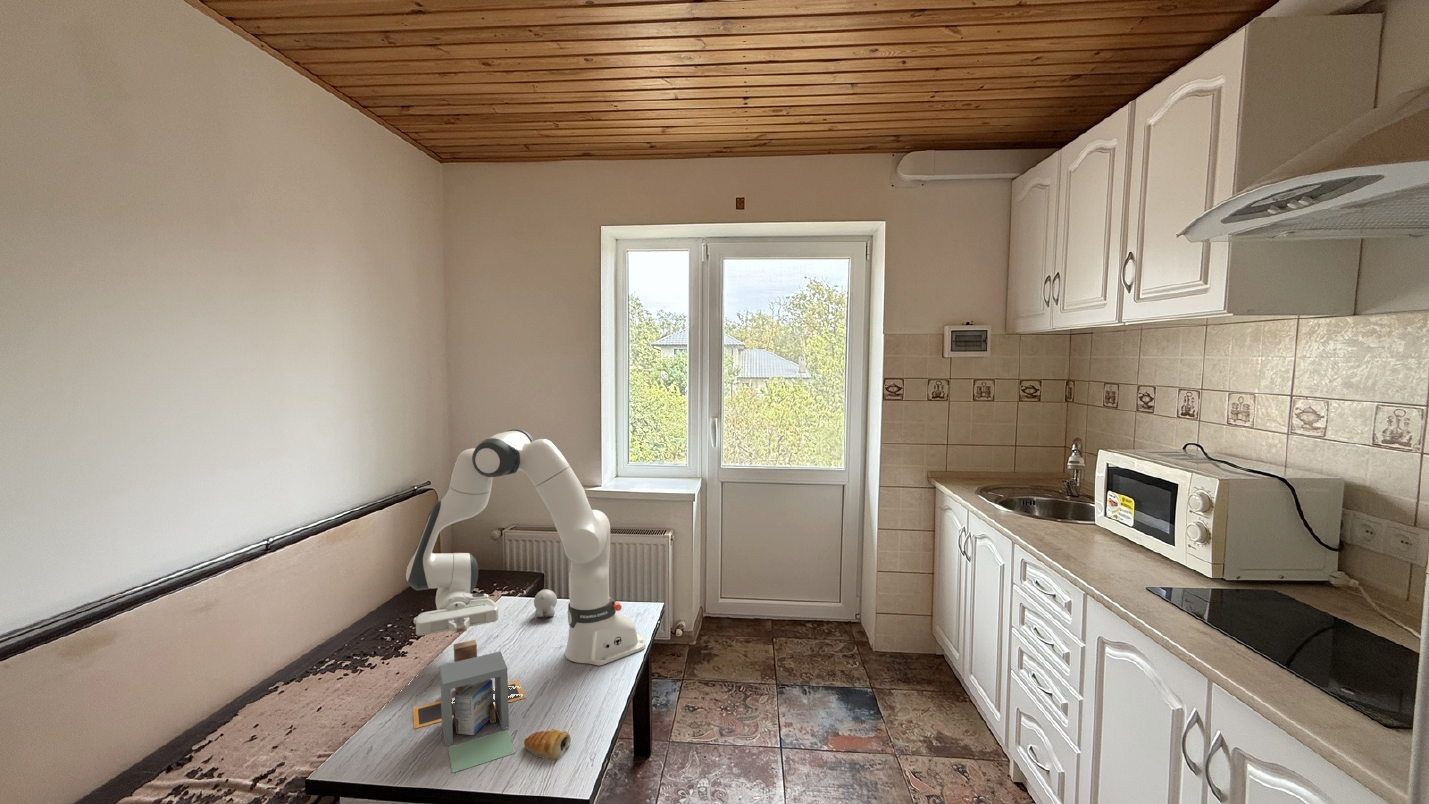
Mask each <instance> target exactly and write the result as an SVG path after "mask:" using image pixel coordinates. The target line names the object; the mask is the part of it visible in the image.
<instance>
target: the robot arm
mask: <svg viewBox="0 0 1429 804" xmlns="http://www.w3.org/2000/svg"><path fill="white" fill-rule="evenodd" d="M518 471H520V472H522V473H524V474H525V475H526V476H527V477H528V479H529V480H530V482H531V484H532V485H533V487H534V489H535V490H536V492H537V493H538V495H539V497H540V498H541V500H542V502H543V503H544V505H545V507H546V509H547V510H548V512H549V514H550V517H551V519H552V522H553V524H554V526H555V529H556V531H557V534H558V536H559V539H560V541H561V543H562V546H563V550H564V554H565V556H566V557H567V559H569V560H570V566H569V575H568V586H569V587H568V588H569V589H568V590H569V592H568V593H569V602H568V605H567V607H568V608H567V622H568V626H569V629H568V636H567V642H566V647H565V650H564V651H565V652H564V656H565V657H566V659H567V660H569V661H571V662H574V663H578V664H591V665H594V666H603V665H605V664H609V663H611V662H613V661H617V660H618V659H619V660H620V659H622V658H625V657H627V656H630V655H632V654H634V653H637V652H640V651H642V650H644V649H645V648H646V641H645V638H644V637H643V636H642V634H640V633H639V632H638V631H637V628H636V625H635V623H634V622H633V620H632V619H630V617H628V616H627V615H625V614H623V613H622V612H620V611H621V610H622V607H623V606H622V604H621V603H620V602H619V601H616V599H614V598H612V597H611V596H610V560H611V559H610V557H611V523H610V520H609V517H608V516H607V515H606V514H605V512H603V511H601V510H599V509H592V507H591V505H590V503H589V500H588V497H587V494H586V491H585V488H584V487H583V485H582V483H581V482H580V480H579V479H578V477H577V475H576V474H575V472H574V470H573V469H572V466H571V465H570V463H568V461H567V459H566V457H564V455H563V453H562V452H561V451H560V450H559V449H558V447H557V446H556V445H555V444H554V443H553V442H552V441H551V440H549V439H547V438H539V439H534V437H533V436H532V435H531V434H530V433H529V432H527V431H525V430H524V429H523V430H522V429H510V430H509V429H508V430H507V431H504V432H499V433H496V434H494V435H492V436H490V437H488V438H486V439H484V440H482V441H481V442H479V443H478V445H477V446H476V447H474V448H473V447H471V448H467V449H465V450H462V451H461V452H460V453H459V454H458V456H457V459H456V461H455V464H454V466H453V470H452V472H451V478H450V481H449V487H448V490H447V492H446V494H444V496H443V498H442V499H440V500H438V501H436V502H434V504H433V506H432V507H431V509H430V512H429V513H428V516H427V519H426V521H425V523H424V526H423V529H422V531H421V534H420V536H419V538H418V539H419V540H418V542H417V545H416V546H415V550H414V553H413V555H412V556H411V559H410V560H409V562H408V565H407V567H406V573H405V578H406V583H407V584H408V585H409V586H410V587H411V588H412V589H413V590H415V591H423V590H430V589H437V590H436V595H435V605H436V610H429V611H425V612H421V613H419V614H418V616H416V617H414V618H413V623H414V625H415V634H416V636H419V637H421V636H427V635H432V634H437V633H442V632H443V633H444V632H449V631H450V632H453V633H454V634H459V633H465V632H467V630H468V628H469V627H474V626H475V627H476V626H478V625H479V626H480V625H484V624H485V625H486V624H491V623H495V622H497V621H498V620H499V607H498V605H497V604H496V602H495V601H494V600H493V599H491V598H489V597H490V596H489V594H487V593H473V591H474V590H475V588H476V587H477V584H478V579H479V565H478V562H477V560H476V558H475V557H474V555H472V553H470V552H453V553H449V552H448V553H446V552H445V553H443V552H442V553H434V552H433V550H434V547H435V544H436V542H437V540H438V536H439V534H440V532H441V531H442V530H443V529H444V528H446V527H448V526H450V525H452V524H456V523H457V522H461V521H466V520H469V519H471V518H473V517H475V516H477V515H478V514H480V513H481V512H483V511H484V510H485V508H486V507H487V506H488V503H489V500H490V496H491V493H492V486H493V481H494V478H500V477H504V476H508V475H513V474H516V473H517V472H518Z"/></svg>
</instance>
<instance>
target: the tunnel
mask: <svg viewBox="0 0 1429 804" xmlns="http://www.w3.org/2000/svg"><path fill="white" fill-rule="evenodd" d="M508 675H509V674H508V667H507V664H506V661H505V659H504V656H503V654H502V651H496V652H492V653H488V654H484V655H480V656H479V655H477V657H474V658H470V659H466V660H461V661H457V662H454V661H453V662H449V663H446V664H440V665H439V679H440V680H439V681H440V685H439V686H440V701H441V712H442V721H441V726H442V727H441V728H442V732H443V739H444V746H445V747H447V746H449V745H450V746H451V745H453V743H454V737H453V736H454V734H453V718H452V704H451V698H452V690H454V689H455V688H457V687H461V686H465V685H469V684H473V683H477V682H481V681H485V680H489V679H491V680H493V679H494V687H495V705H496V706H495V712H496V714H497V715H496V716H497V718H498V721H499V724H500V728H501V729H502V730H503V729H506V728H509V727H510V717H509V716H510V714H509V713H510V711H509V707H510V706H509V703H508V680H509V679H508V678H509V676H508Z"/></svg>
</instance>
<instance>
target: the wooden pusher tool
mask: <svg viewBox="0 0 1429 804" xmlns="http://www.w3.org/2000/svg"><path fill="white" fill-rule="evenodd" d="M477 645H478V644H477V642H476V639H471V640H467V641H463V642H459V643H453V662H457V661H461V660H466V659H470V658H474V657H478V648H477ZM466 686H468V685H465V686H461V687H457V688H454V689H455V693H456V694H458V693H459V692H461V691H462V690H463V689H464V688H465V687H466ZM453 715H454V718H453V720H454V725H455V730H456V729H457V733H456V734H458V719H455V703H453ZM489 722H490V724H492V723H496V706H495V707H494V704H493V702H492V703H491V704H490V705H489Z"/></svg>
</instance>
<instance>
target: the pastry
mask: <svg viewBox="0 0 1429 804" xmlns="http://www.w3.org/2000/svg"><path fill="white" fill-rule="evenodd" d="M571 741H572V738H571V735H570V734H569V731H562V730H559V729H555V728H551V729H550V730H540V731H536V732H533V733H531V734H530V735H529V736H528V737H527V738H524V740H523V744H524V748H525V749H526V750H527V752H530V753H532V755H534V756H535V757H536V758H537V757H539V758H543V759H547V760H553V761H554V760H555V761H556V760H559V758H561V757H562V756H564V753H565V751H566V750H567V748H568V747H569V746H570V745H571Z"/></svg>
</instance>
